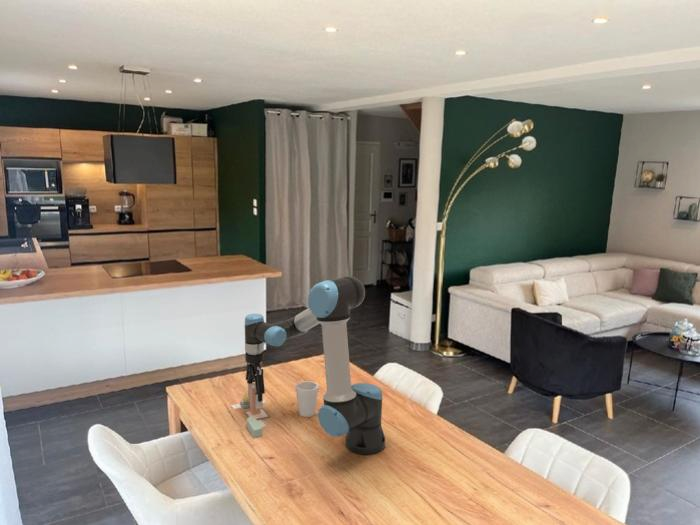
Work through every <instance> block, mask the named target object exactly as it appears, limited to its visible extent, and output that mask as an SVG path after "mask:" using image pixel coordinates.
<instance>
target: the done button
mask: <svg viewBox="0 0 700 525" xmlns="http://www.w3.org/2000/svg"><path fill="white" fill-rule="evenodd" d="M243 401H244V402H249V401H250V399H248V393H244V394H243V395H242V402H243Z"/></svg>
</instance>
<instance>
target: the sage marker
mask: <svg viewBox="0 0 700 525" xmlns="http://www.w3.org/2000/svg"><path fill="white" fill-rule="evenodd" d="M245 423H246V429H247V430H248V431H249V433H250V435H251V437H253V438H254V439H255V438H260V437H263V432H264V431H263V430H264V429H263V428H264V427H261V425H260V424H259V422H258V421H257V420H256V418H255V417H254V418H252V417H249V418H248V417H247V418H246V420H245Z"/></svg>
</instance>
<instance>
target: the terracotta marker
mask: <svg viewBox="0 0 700 525" xmlns="http://www.w3.org/2000/svg"><path fill="white" fill-rule="evenodd" d="M253 383H254V384H251V387H250V408H249V410H250V412H251V413H252V415H254V414H259V413H261V408H259V409H256V395H255V393H257V392H256V386H255V382H253Z"/></svg>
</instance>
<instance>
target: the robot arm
mask: <svg viewBox="0 0 700 525" xmlns="http://www.w3.org/2000/svg"><path fill="white" fill-rule="evenodd" d="M307 296H308V297H307V304H308V307H307V308H306V309H304V310H303V311H301V312H300V313H298V314H296V315H295V316H293V317H291V318H289V319H286V320H282V321H278V322H275V323H269V322H265V319H264V316H263V314H261V313H250V314H247V315H246V316H245V317H244V351H245V354H244V358H245V362H246V370H245V372H246V373H245V381H246V382H247V394H248V399H250V387H251V384H254V383H255V386H256V392H257V393H255V395H256V409H259V408H263V409H264V403H263V400H264V399H263V398H264V396H263V394H266V391H265V381H264V379H265V378H264V369H263V368H262V367H261V363H262V362H264V360H265V352H264V351H265V349H264V348H265V347H264V345H265V344H267V345H268V346H273V347H280V346H282V345H283V344H284V343H285V342H286V340H289V339H292V338H295V337H300V336H303V335H305V334H307V333H308V332H309V330H311V329H312V328H314V327H316V326H318V325H319V324H320V325H321V335H322V336H321V337H322V346H323V357H324V371H325V372H324V373H325V380H326V392H325V393H324V394H323V396H322V397H323V399H322V400H323V405H321V406H320V408H319V409H318V411H317V419H318V423H319V425H320V427H321V428H322V429H323V431H324V432H325V433H326V434H328V435H329V436H330V437H336V438H337V437H342V436H345V437H344V444H345V447H346V449H348V450H349V451H350V452H352V453H355V454H358V455H366V456H367V455H375V454H377V453H378V454H379V453H380V452H382V451H383V450H384V449H385V447H386V437H385V433H384V430H383V427H382V412H383V410H382V409H383V399H384V398H383V391H382V389H381V387H379V386H378V385H375V384H372V383H369V382H368V383H367V382H357V383H354V384H352V378H351V365H350V354H349V353H350V352H349V341H348V328H347V327H348V326H347V323H348V321H349V320H350V319H351V310H352V309H355V308H357V307H359V306H360V305H361V304H362V303H363V302H364V299H365V296H366V289H365V285H364V284H363V282H362V281H361V280H359V279H358V278H356V277H354V276H342V277H339V278H338V277H337V278H333V279H328V280H323V281H320V282H318V283H316V284H314V286H312V287H311V289H310V290H309V293H308V295H307Z"/></svg>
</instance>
